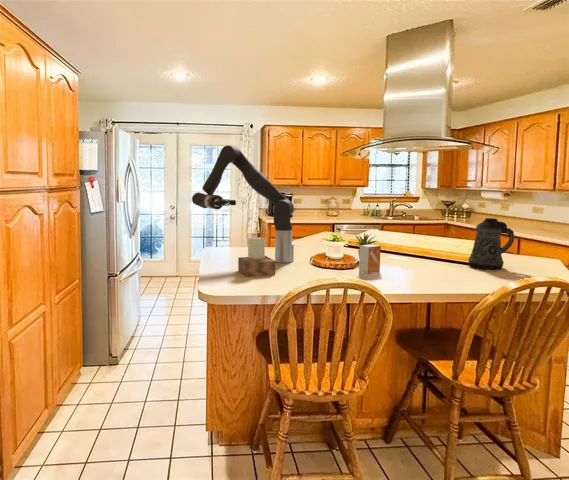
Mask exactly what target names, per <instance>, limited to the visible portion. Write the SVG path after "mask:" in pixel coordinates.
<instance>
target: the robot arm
mask: <svg viewBox="0 0 569 480" xmlns="http://www.w3.org/2000/svg"><path fill="white" fill-rule="evenodd" d="M229 164H232V165H233V166H235V167H236V168H237V169H238V170H239V171H240V172H241V173H242V175H243V178H244V180H245V181H246V183H247V184H248V185H249V186H250V187H251V188H252V189H253V190H254V191H255V192H256V193H258V194H259V195H260V196H262V197H264V198H265V199H267V200H268V201H269V202H270V203H271V204H272V205H273V211H272V212H273V213H272V214H273V225H274V260H275V263H280V264H281V263H283V264H284V263H292V262H294V259H295V258H294V257H295V255H294V254H295V252H294V249H295V248H294V243H293V225H292V223H291V215H293V213H294V210H295V207H294V204H293V203H292V201H291V200H289V199H288V198H287V197H286V196H285V195H283V194H282V193H281V192H280V191H279V190H278V189H277V188H276V186H275V185H273V184H272V182H271V181H270V180H269V179H268V178H267V177H266V176H265V175H264V174H263V173H262V172H261V171H260V169H258V168H257V167H256V166H255V165H254V164H253V163H252V162H250V161H249V160H248V158H247V157H246V156H245V154H243V152H242V151H241V150H240V149H239V148H238V146H235V145H229V144H228V145H224V146H223V147H222V148H221V149H220V151H219V154H218V157H217V159H216V162H215V164H214V166H213V168H212V170H211V172H210V174H209V176H208V177H207V178H206V180H205V182H204V184H203V185H202V187H201V188H202V190H203V192H205V193H206V194H205V193H202V192H195V193H194V194H193V195H192V197H191V202H192V203H193V204H194V205H196V206H198V207H200V208H203V209H207V208H208V209H213V210H220V209H222V208H223V207H229V206H236V205H237V201H236V200H235V199H229V198H228V199H226V198H223V197H222V196H221V195H219V194H214V193H215V192H216V190H217V188H218V187H219V185H220V183H221V180H222V177H223V174H224V172H225V170H226V168H227V167H228V166H229Z"/></svg>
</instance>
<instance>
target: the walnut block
mask: <svg viewBox="0 0 569 480" xmlns="http://www.w3.org/2000/svg"><path fill="white" fill-rule="evenodd" d="M237 258H238V259H237V263H238V265H237V267H238V271H237V272H239V273H241V274H242V275H243V276H245V278H252V277H253V276H254V277H265V276H266V275H267V276H275V275H276V262H275V259H273V258H271V257H268V256H267V255H265V259H264V260H257V261H254V260H250V259H248V256H243V257H241V256H240V257H237Z"/></svg>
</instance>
